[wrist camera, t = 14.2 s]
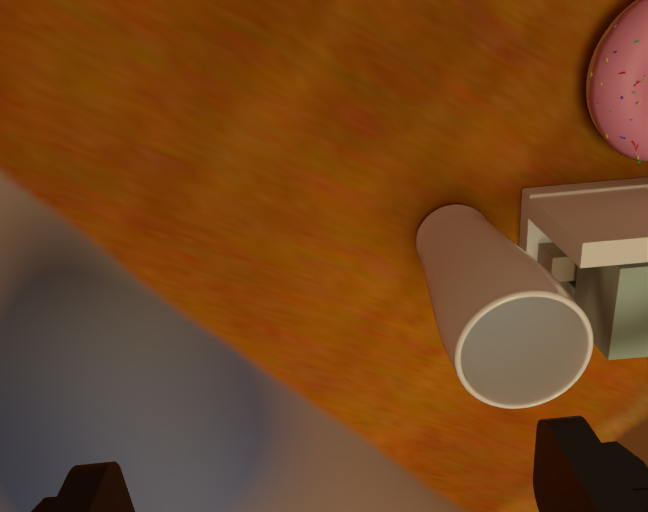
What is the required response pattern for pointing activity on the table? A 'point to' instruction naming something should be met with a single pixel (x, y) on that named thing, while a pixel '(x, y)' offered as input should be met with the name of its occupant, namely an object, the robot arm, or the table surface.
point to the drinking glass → (500, 312)
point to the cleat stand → (585, 225)
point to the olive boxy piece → (615, 307)
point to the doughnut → (622, 83)
